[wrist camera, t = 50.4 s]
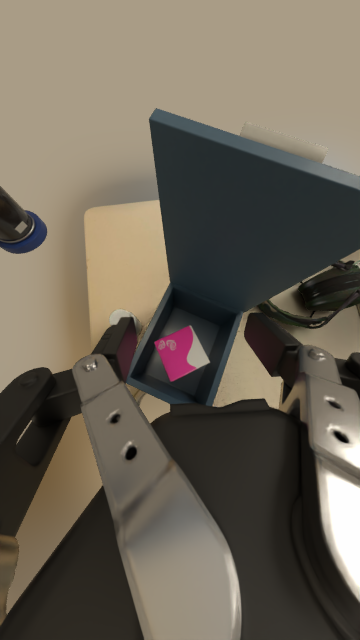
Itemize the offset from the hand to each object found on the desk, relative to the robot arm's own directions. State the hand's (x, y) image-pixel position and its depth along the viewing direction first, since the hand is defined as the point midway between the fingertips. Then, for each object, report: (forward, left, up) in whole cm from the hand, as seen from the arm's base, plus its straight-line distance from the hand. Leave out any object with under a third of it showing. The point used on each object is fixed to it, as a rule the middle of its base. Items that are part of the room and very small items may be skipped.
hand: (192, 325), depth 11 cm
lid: (+4, +6, -3) cm, 8 cm away
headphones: (+28, +9, -22) cm, 37 cm away
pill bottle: (-10, +5, -22) cm, 25 cm away
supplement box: (0, -1, -21) cm, 21 cm away
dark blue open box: (+1, 0, -22) cm, 22 cm away
